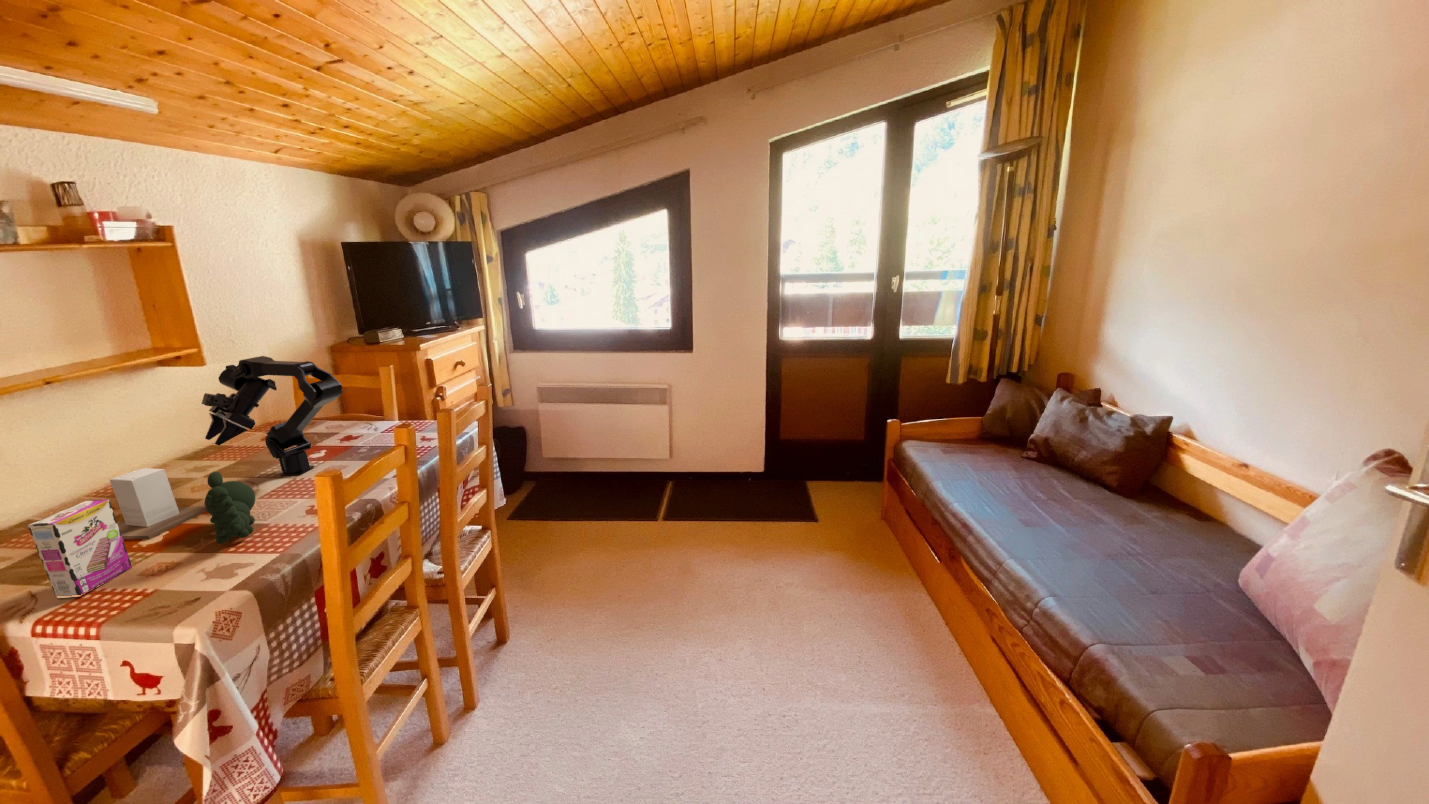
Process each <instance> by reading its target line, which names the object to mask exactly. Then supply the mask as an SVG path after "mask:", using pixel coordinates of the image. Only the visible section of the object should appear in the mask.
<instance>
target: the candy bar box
mask: <svg viewBox="0 0 1429 804" xmlns="http://www.w3.org/2000/svg"><path fill="white" fill-rule="evenodd" d="M115 516H116V515H115V513H114V510H113V508H112V505H111V501H110V499H93V500H85V501H82V502H80V503H77V504H75V505H72V506H71V507H68V508H66V509H64V510H61V511H58V512H56V513H54V514H51V515H49V516H47V517H44V518H42V519H39V520H37V521H35V522H32V523H30V524H28V525H27V527H28V530H29V533H30V536H31V537H32V540H33V543H34V545H35V548H36V550H37V552H38V555H39V558H40V560H41V563H42V564H43V568H44V570H45V573H46V575H47V578H48V580H49V583H50V585H51V588H52V591H53V594H54V596H55V598H56V597H57V596H72V595H81V594H84V593H85V592H87V591H90V590H91V589H93V588H96V587H97V586H98V585H101V584H102V583H104V584H106V583H107V581H108V580H109V581H111V580H113V579H114V578H116V577H118V576H119V574H120V575H122V574H123V573H125V572H127V571H129V570H130V569H131V568H133V565H132V563H131V559H130V557H129V554H128V550H127V548H126V545H125V542H124V540H123V538H122V536H121V533H120V531H119V527H118V522H117V518H116V517H115ZM112 578H113V579H112ZM109 581H108V582H109ZM105 582H106V583H105ZM101 586H102V585H101ZM96 589H97V588H96Z"/></svg>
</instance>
